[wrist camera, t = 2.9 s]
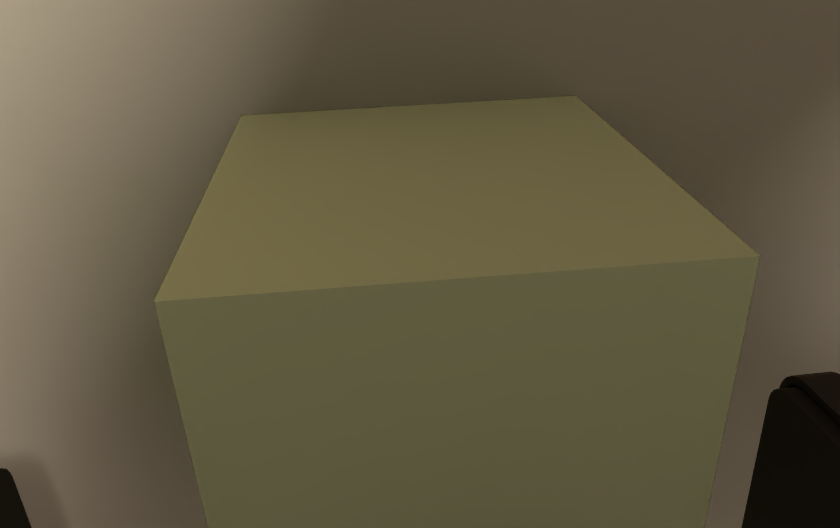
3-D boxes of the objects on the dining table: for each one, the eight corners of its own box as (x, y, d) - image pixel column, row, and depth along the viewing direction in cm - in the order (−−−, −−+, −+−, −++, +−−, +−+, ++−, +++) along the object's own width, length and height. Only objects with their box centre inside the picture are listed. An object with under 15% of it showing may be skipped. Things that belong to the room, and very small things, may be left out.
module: (242, 113, 10) (140, 333, 5) (573, 94, 10) (789, 280, 5) (301, 499, 13) (274, 860, 8) (549, 475, 13) (666, 811, 8)
